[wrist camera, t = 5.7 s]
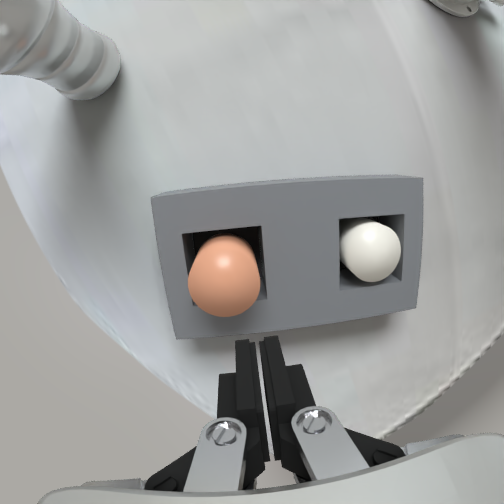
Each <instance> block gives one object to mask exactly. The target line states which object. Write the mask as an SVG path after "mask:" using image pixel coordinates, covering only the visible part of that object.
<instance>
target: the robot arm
mask: <svg viewBox="0 0 504 504" xmlns="http://www.w3.org/2000/svg"><path fill="white" fill-rule="evenodd" d="M429 1H430V2H432V3H433V4H435V5H436V6H437V7H439V8H441V9H442V10H444V11H446V12H448V13H450V14H452V15H455V16H459V17H468V16H471V15H473V14H475V13H476V12H477V11H478V8H479V1H480V0H429ZM490 1H491V2H493V3H494V4H496V5H498V6H503V5H504V0H490ZM259 345H260V354H261V362H262V371H263V379H264V388H265V396H266V403H267V410H268V417H269V423H270V430H271V437H272V444H273V450H274V457H275V460H281V464H282V467H283V468H285V469H287V470H289V471H291V472H293V474H294V478H295V481H296V483H297V484H293V485H287V486H280V487H272V488H263V489H256V484H257V481H256V478H257V477H258V476H259V475H260V474H261V473H262V472H263V471H264V470H265V464H264V462H268V461H270V456H269V448H268V441H267V433H266V426H265V418H264V410H263V402H262V395H261V387H260V379H259V372H258V364H257V356H256V348H255V342H251V343H249V339H246V340H237V341H235V349H236V373H226V374H219V386H218V407H217V419H215V420H212V421H211V422H209V423H208V424H206V425H205V426H204V427H203V429H202V431H201V434H200V438H199V441H198V444H197V446H196V447H195V448H193V449H192V450H190V451H189V452H187V453H186V454H184V455H183V456H181V457H180V458H178V459H177V460H176V461H174V462H172V463H171V464H170V465H168V466H166V467H165V468H164V469H162V470H160V471H158V472H157V473H155V474H154V475H152V476H151V477H150V478H149V479H148V480H144V481H142V480H141V479H140V478H137V479H126V480H111V481H91V482H86V483H84V484H83V485H81V486H74V487H66V488H60V489H57V490H53V491H51V492H49V493H47V494H46V495H44V496H43V497H42V498H41V499H40V500H39V502H38V503H37V504H504V435H502V434H497V433H480V434H472V435H467V436H463V435H459V434H458V435H457V434H456V435H450V436H445V437H441V438H436V439H431V440H426V441H420V442H415V443H409V444H406V446H405V447H399V446H397V445H394V444H391V443H389V442H385V441H382V440H379V439H376V438H373V437H370V436H367V435H364V434H361V433H358V432H355V431H352V430H349V429H347V428H344V427H343V426H342V424H341V423H340V421H339V420H338V418H337V416H336V415H335V414H334V413H333V412H332V411H331V410H329V409H327V408H325V407H321V406H316V404H315V401H314V398H313V395H312V393H311V390H310V387H309V384H308V381H307V378H306V375H305V372H304V369H303V366H302V364H298V365H291V366H285V362H284V358H283V354H282V350H281V346H280V343H279V339H278V336H270V337H264V341H259Z"/></svg>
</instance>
